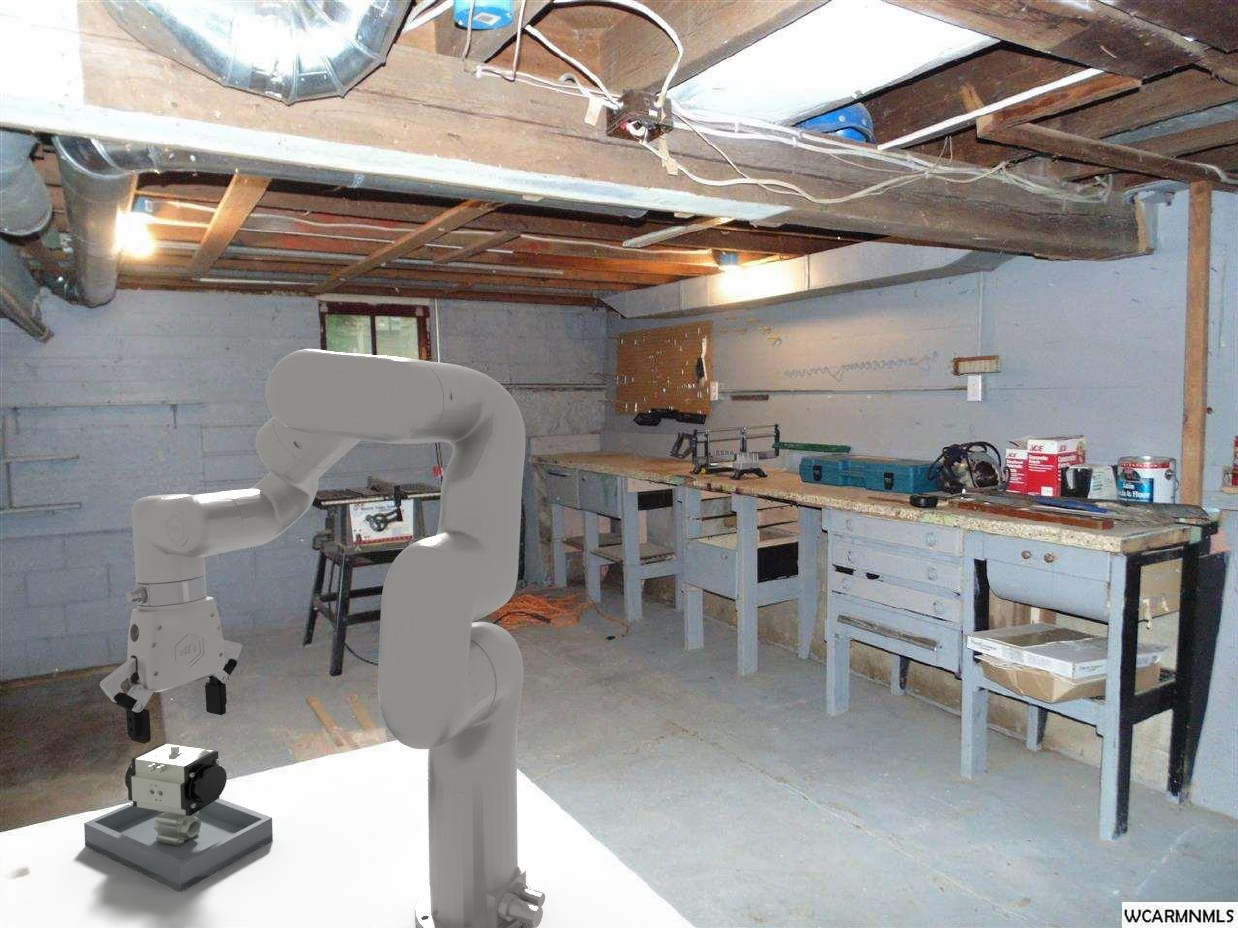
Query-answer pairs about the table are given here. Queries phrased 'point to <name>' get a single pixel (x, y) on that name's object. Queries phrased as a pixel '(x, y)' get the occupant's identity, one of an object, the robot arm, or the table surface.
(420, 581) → the robot arm
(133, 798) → the pneumatic valve
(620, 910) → the table surface
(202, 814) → the parts tray
